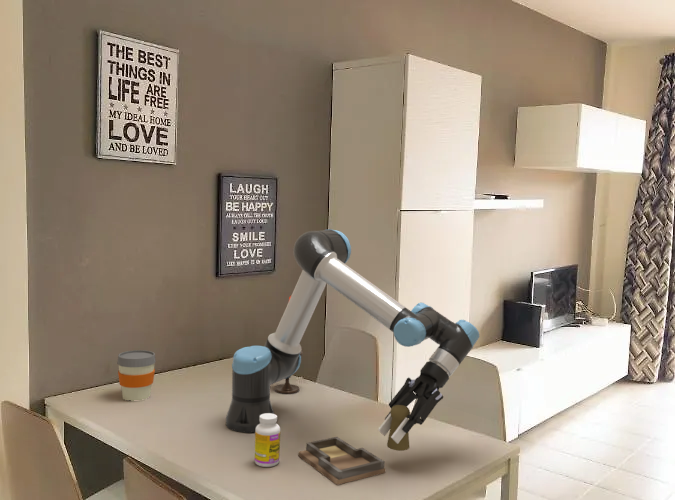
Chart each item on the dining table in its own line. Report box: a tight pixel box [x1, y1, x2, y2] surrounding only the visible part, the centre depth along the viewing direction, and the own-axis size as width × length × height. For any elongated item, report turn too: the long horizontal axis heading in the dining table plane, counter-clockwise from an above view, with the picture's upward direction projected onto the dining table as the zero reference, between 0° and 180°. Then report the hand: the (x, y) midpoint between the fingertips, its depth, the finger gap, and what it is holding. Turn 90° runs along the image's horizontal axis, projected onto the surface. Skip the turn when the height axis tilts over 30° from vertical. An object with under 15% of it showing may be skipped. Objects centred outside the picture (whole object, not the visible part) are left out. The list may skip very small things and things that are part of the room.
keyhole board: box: [297, 436, 386, 486], centre depth 173 cm, size 20×15×3 cm
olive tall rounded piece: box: [386, 405, 411, 452], centre depth 173 cm, size 6×6×11 cm
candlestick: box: [274, 294, 304, 395], centre depth 234 cm, size 11×11×35 cm
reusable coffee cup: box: [116, 349, 157, 402], centre depth 222 cm, size 13×13×15 cm
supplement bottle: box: [254, 413, 281, 468], centre depth 172 cm, size 7×7×13 cm
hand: (387, 436), depth 171 cm, fingers closed on olive tall rounded piece, 5 cm apart
